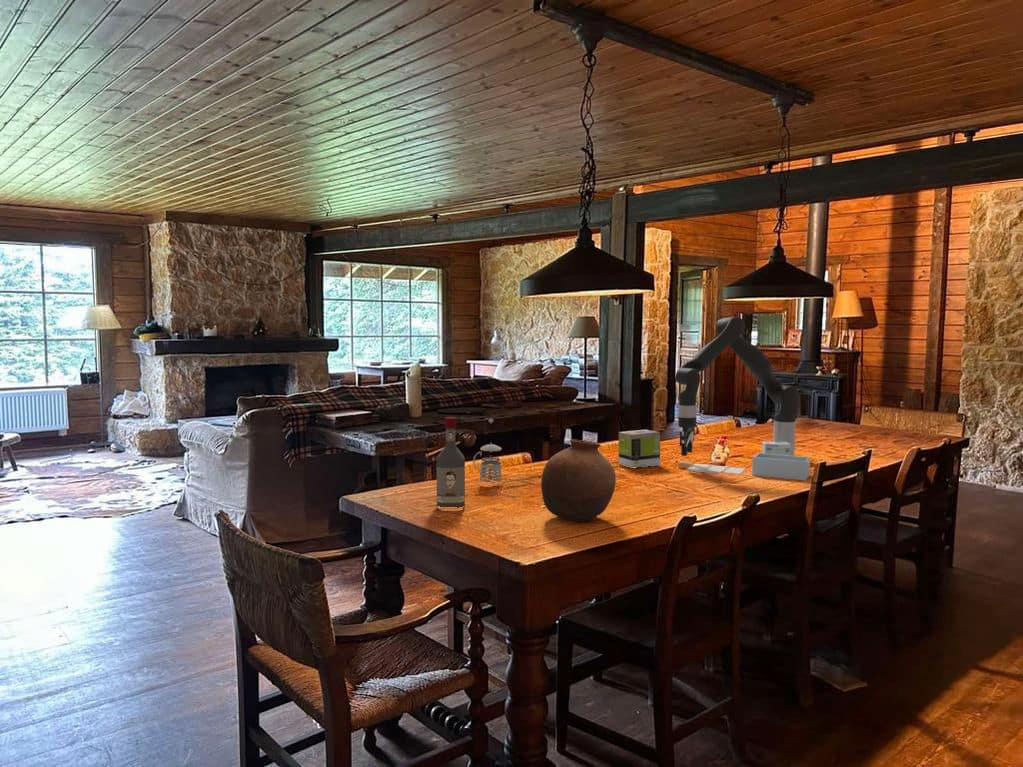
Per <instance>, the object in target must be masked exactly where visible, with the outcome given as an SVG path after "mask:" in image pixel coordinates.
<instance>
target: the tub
mask: <svg viewBox="0 0 1023 767" xmlns="http://www.w3.org/2000/svg"><path fill="white" fill-rule="evenodd" d="M751 469H752V473H751V475H752V476H755V477H756V476H758V477H767V478H774V479H775V478H777V479H787V480H788V479H789V480H795V481H796V480H797V481H798V480H799V481H807V479H809V477H810V476H811V475H810V474H811V473H810V472H811V470H810V469H811V457H810V456H798V455H794V456H789V455H777V454H765V453H762V452H757V453H756V454H755V455H754V456H752V468H751Z"/></svg>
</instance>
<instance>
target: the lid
mask: <svg viewBox="0 0 1023 767" xmlns="http://www.w3.org/2000/svg"><path fill="white" fill-rule="evenodd" d="M677 464H678V465H677V467H678V468H677V469H679V468H685V469H684V470H687V472H691V471H695V472H694V473H701V472H705V473H704V474H711V473H715V474H714V475H720V473H721V474H723V473H724V474H731V475H741V474H742V473H743V472H744V471H745V470H747V469H746V468H743V467H732V466H730V465H728V466H724V465H715V464H714V465H713V463H712V464H704V463H694V461H687V460H680V461H678V463H677Z"/></svg>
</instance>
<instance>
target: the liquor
mask: <svg viewBox="0 0 1023 767" xmlns="http://www.w3.org/2000/svg"><path fill="white" fill-rule="evenodd" d="M444 428H445V445H444V448H443V449H442V450H441V451H440V452H439V453H438V455H437V458H436V507H437V506H440V507H457V508H459V507H463V506H465V507H466V491H465V490H466V470H465V469H466V462H465V461H466V460H465V459H466V458H465V456H464V454H463V453H462V452H461V450H460V449H459V448H458V447H457V443H456V428H457V417H455V416H447V417H444Z"/></svg>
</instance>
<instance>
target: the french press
mask: <svg viewBox="0 0 1023 767" xmlns="http://www.w3.org/2000/svg"><path fill="white" fill-rule="evenodd" d="M488 423H494V419H493V418H489V419H488ZM479 449H480V451H478V452H477V453H476V454H475V455H474V456H473V459H472V463H473V468H474V469H475V470H476V471H478V472H479V478H480V480H481V481H484V482H491V481H489V480H486V479H485V480H482V478H488V479H490V480H493V481H498V482H500V481H501V482H502V462H500V461H501V458H499V457H495V456H493V457H492V456H489V457H483V458H481V459H480V460H481V461H482V462H481V463H480V468H478V467H477V465H476V457H477V455H478V454H479V455H480V457H481V456H482V455H483V452H500V451H502V447H501V446H498V445H496V444H493V443H489V444H485V445H482V446H481V447H480V448H479ZM482 451H483V452H482ZM492 478H496V479H492ZM480 480H479V481H480ZM491 483H495V482H491Z"/></svg>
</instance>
